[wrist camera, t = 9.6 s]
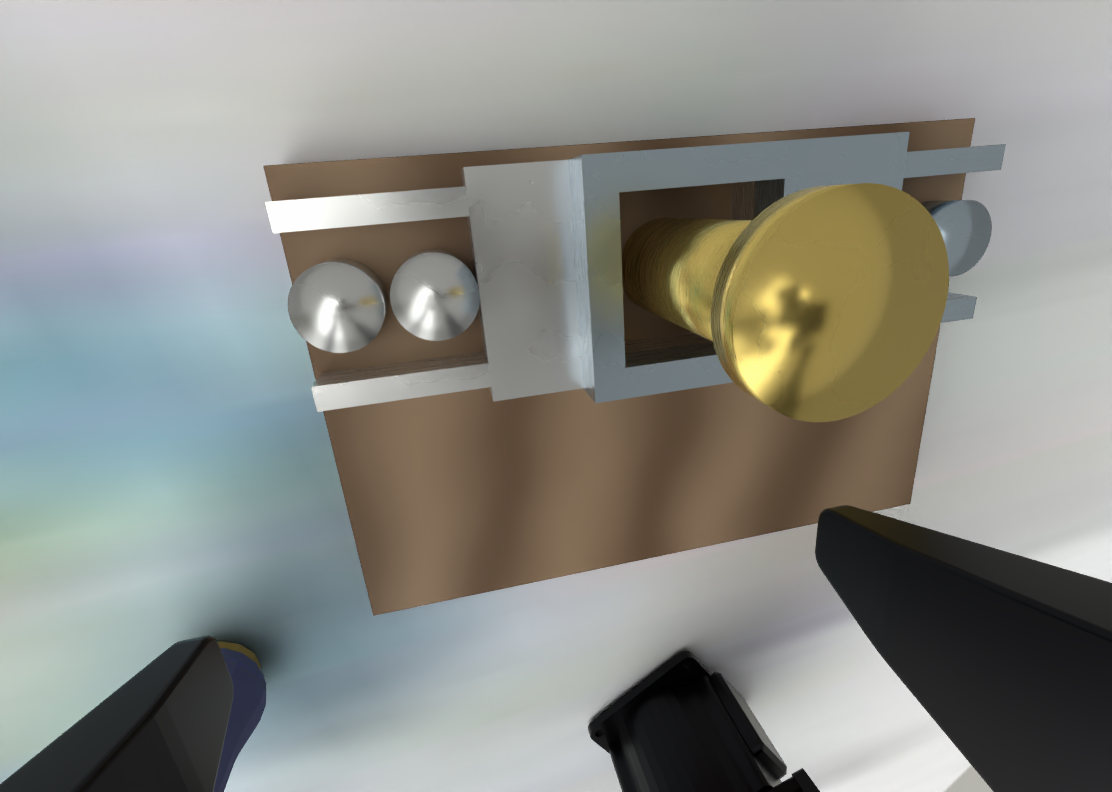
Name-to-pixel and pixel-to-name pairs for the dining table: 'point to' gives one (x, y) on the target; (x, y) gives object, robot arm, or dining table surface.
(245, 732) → the rubber mallet
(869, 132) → the board
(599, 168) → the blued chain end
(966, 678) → the robot arm
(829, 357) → the pin
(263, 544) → the dining table surface
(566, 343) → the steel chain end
